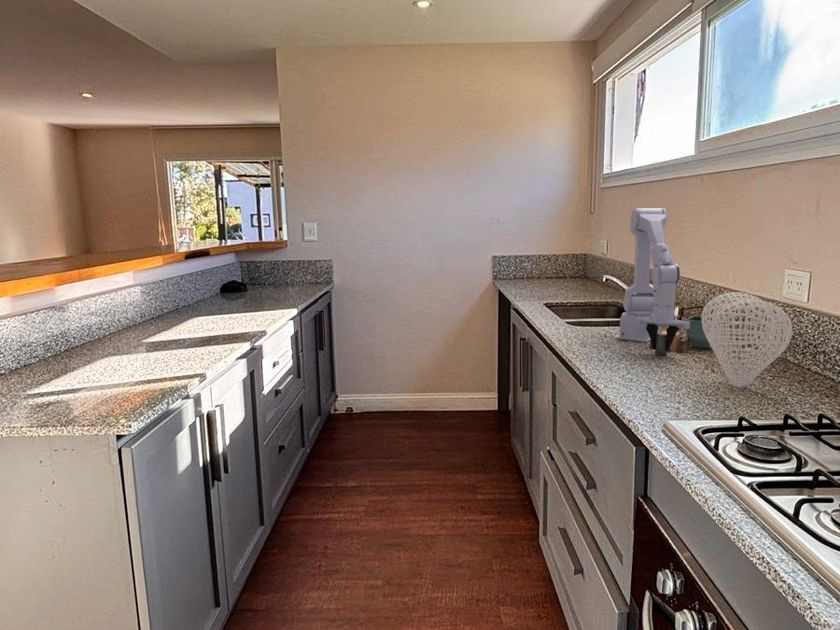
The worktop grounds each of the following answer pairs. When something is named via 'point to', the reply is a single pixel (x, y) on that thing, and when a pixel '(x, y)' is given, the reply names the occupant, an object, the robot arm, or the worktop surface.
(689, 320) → the flower pot
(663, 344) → the tethered block
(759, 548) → the worktop surface
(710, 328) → the heart
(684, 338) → the lane
